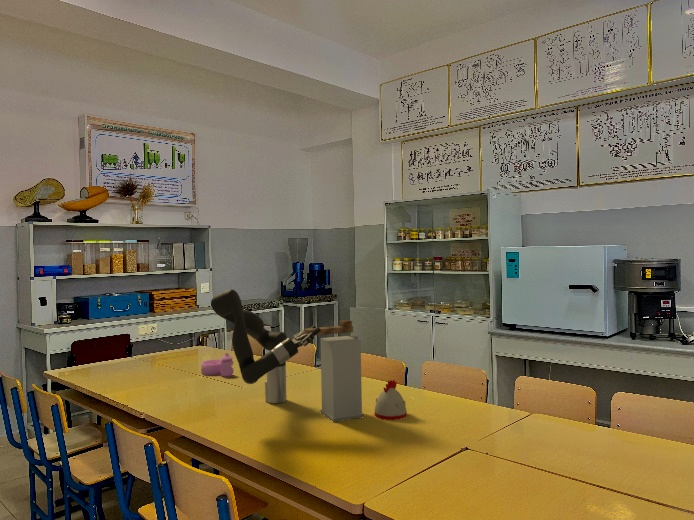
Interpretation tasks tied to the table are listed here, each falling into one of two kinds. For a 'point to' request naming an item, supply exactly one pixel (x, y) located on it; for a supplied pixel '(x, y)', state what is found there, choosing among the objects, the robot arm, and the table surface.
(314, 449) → the table surface
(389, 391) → the white chicken figure
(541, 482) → the table surface
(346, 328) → the brown wooden bar
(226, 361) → the pink rounded piece
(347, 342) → the pedestal
